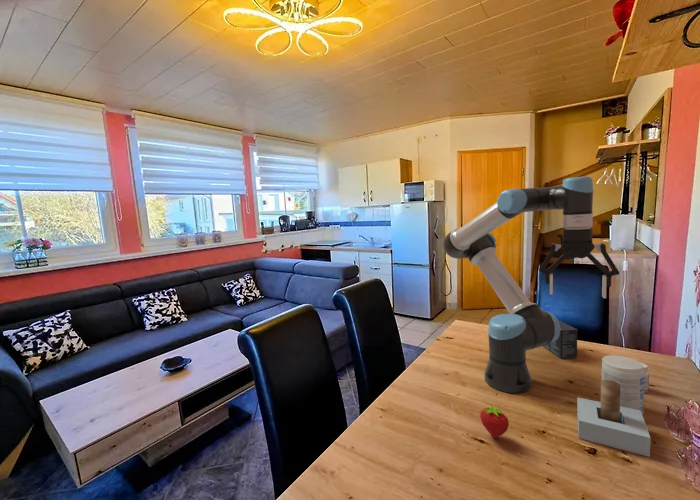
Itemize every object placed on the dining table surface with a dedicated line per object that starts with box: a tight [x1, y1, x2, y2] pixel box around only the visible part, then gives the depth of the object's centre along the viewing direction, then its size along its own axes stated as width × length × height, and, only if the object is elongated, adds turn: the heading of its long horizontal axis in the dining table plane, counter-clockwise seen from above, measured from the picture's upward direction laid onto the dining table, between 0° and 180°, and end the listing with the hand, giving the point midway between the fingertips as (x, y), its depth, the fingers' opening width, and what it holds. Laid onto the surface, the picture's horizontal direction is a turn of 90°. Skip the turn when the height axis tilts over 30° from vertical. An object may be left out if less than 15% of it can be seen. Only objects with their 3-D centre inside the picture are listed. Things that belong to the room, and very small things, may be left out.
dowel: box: [600, 379, 620, 423], centre depth 86 cm, size 4×4×14 cm
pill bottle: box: [640, 362, 650, 394], centre depth 104 cm, size 5×5×8 cm
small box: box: [542, 318, 578, 360], centre depth 134 cm, size 13×7×12 cm, turn 179°
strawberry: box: [479, 403, 510, 439], centre depth 87 cm, size 6×8×10 cm
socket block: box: [576, 397, 651, 458], centre depth 86 cm, size 14×12×5 cm
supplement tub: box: [601, 355, 645, 415], centre depth 95 cm, size 10×10×15 cm
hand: (576, 295), depth 101 cm, fingers open, 13 cm apart
